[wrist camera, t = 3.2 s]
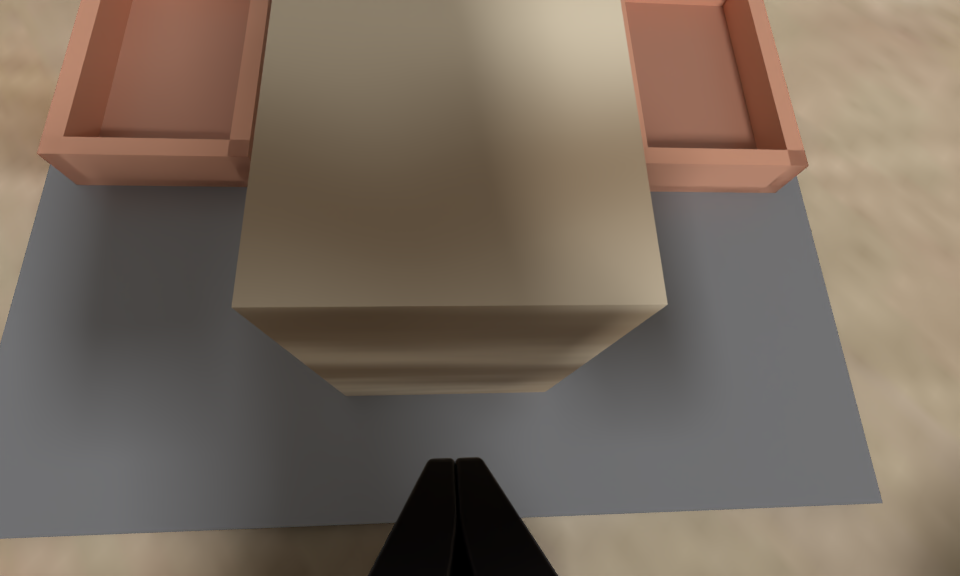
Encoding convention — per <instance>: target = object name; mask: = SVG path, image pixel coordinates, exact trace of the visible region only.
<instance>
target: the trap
mask: <svg viewBox="0 0 960 576" xmlns="http://www.w3.org/2000/svg"><path fill="white" fill-rule="evenodd" d="M271 4H272V0H81V3H80V6H79V10H78V13H77V16H76V20H75V23H74V27H73V30H72V34H71V37H70V41H69V44H68V47H67V51H66V54H65V58H64V61H63V65H62V68H61V72H60V75H59V79H58V82H57V85H56V89H55V92H54V96H53V99H52V103H51V106H50V110H49V113H48V117H47V120H46V123H45V127H44V130H43V134H42V137H41V141H40V144H39V148H38V151H37V154H38V155H39V156H41V157H42V158H43V159H44V160H46V161H47V162H48V163H50V164H51V165H52V166H53V167H55V168H56V169H57V170H59V171H60V172H61V173H62V174H64V175H65V176H66V177H67V178H69V179H70V180H71V181H73V182H74V183H75V184H76V185H120V186H207V187H247V186H248V178H249V171H250V163H251V155H252V148H253V140H254V133H255V125H256V118H257V110H258V103H259V95H260V87H261V80H262V72H263V65H264V57H265V50H266V42H267V34H268V27H269V19H270V12H271Z"/></svg>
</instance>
